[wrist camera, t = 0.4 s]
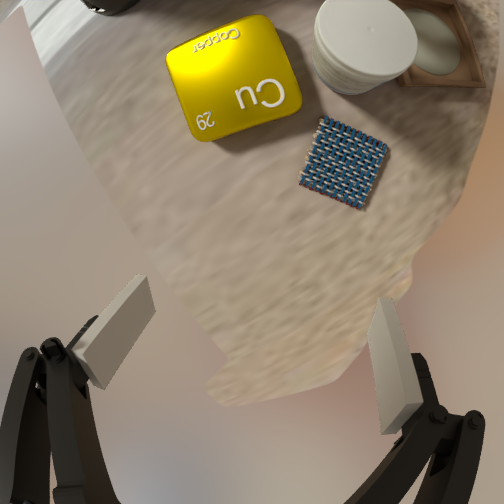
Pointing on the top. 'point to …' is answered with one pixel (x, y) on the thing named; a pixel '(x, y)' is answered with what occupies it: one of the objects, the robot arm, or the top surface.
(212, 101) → the element tile
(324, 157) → the woven mat
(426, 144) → the top surface
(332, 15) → the supplement tub
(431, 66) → the crate
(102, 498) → the robot arm
